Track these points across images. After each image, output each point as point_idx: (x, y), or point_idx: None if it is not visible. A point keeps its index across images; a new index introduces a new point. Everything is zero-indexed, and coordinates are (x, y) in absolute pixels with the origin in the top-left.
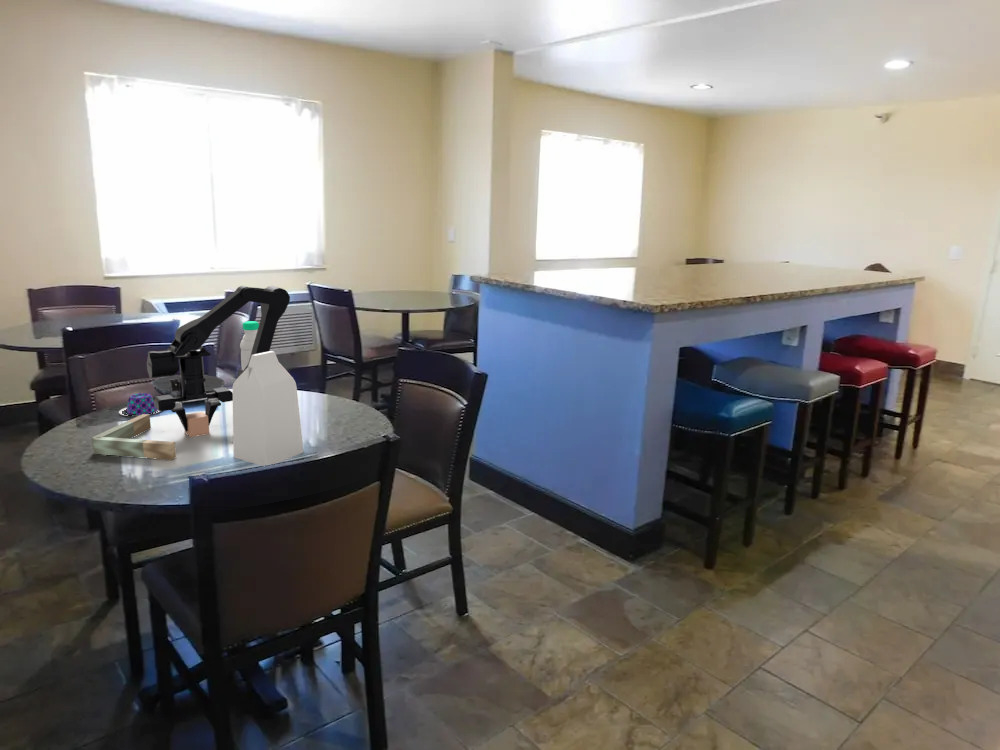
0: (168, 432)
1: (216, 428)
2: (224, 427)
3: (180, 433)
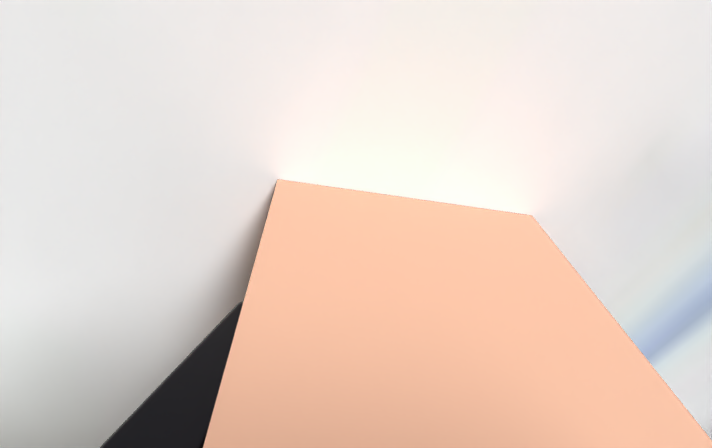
0: (39, 16)
1: (625, 286)
2: (697, 306)
3: (208, 195)
